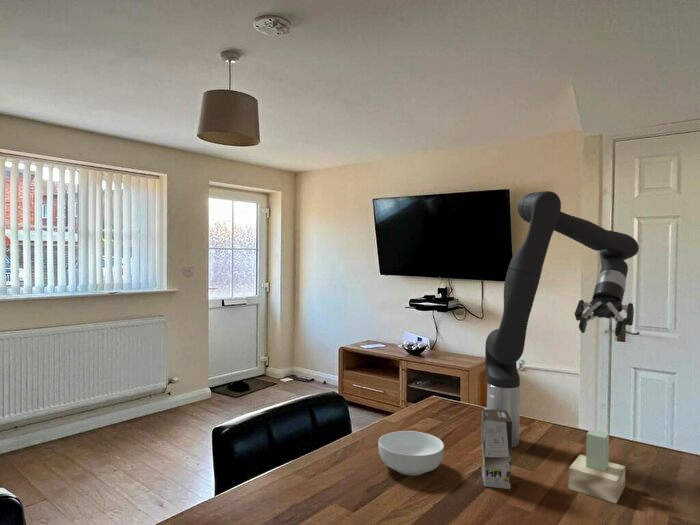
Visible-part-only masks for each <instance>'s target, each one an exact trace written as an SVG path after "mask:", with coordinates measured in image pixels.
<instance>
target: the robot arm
mask: <svg viewBox="0 0 700 525" xmlns="http://www.w3.org/2000/svg"><path fill="white" fill-rule="evenodd" d="M561 209H562V201H561V199H560V197H559V195H558V194H557V193H556V192H554V191H548V190H547V191H546V190H545V191H537V192H536V191H535V192H530V193H526V194H525V195H523V196H522V197H521V198H520V199H519V201H518V203H517V212H518V215H519V217H520V218H521V219H522V220H523V221H525V222H527V223H529V228H528V231H527V234H526V236H525V239H524V241H523V242H522V243H521V245H520V247H519V248H518V249H517V250H516V252H515V253H514V255H513V257H512V258H511V259H510V262H509V265H508V269H507V272H506V275H505V280H504V285H503V313H502V317H501V321H500V324H499V328H497V329H494V330H492V331H491V332H490V333H489V334H488V335H487V337H486V339H485V344H484V345H485V347H484V348H485V350H484V351H485V352H484V354H485V355H484V356H485V358H484V360H485V361H484V362H485V373H486V384H487V386H486V393H487V394H486V407H485V408H484V409H489V410H491V409H494V410H507V412H508V414H509V416H510V418H511V420H512V448H514V447H518V446H519V444H520V411H521V410H520V409H521V408H520V404H521V403H520V400H521V399H520V398H521V397H520V395H521V392H520V390H521V389H520V388H521V387H520V386H521V385H520V383H521V377H520V375H519V371H518V367H517V366H518V365H517V362H518V361H519V360H520V358H521V357H522V355H523V353H524V350H525V343H526V336H527V329H528V328H527V327H528V322H529V318H530V315H531V312H532V309H533V306H534V301H535V297H536V294H537V290H538V288H539V287H538V286H539V283H540V281H541V276H542V271H543V267H544V263H545V260H546V257H547V252H548V250H549V245H550V242H551V240H552V237H553V234H554V232H557V233H558V234H561V235H562V236H563V235H564V236H565V237H567V238H569V239H572V240H574V241H576V242H577V243H579V244H581V245H583V246H585V247H587V248H589V249H590V250H593V251H596V252H598V251H599V258H600V266H601V268H600V270H599V271H600V272H599V275H598V278H597V279H596V284H595V287H594V290H593V294H592V298H591V301H590V302H588V301H586V302H585V301H584V300H583V299H580V300H579V301H578V303H577V306H576V309H575V311H574V317H575V320H576V321H578V322H579V324H578V328H579V331H580V332H581V333H583V334H585V332H586V330H587V325H588V322H589V321H591V320H594V319H596V318H600V319H602V318H604V319H611V318H612V319H613V320H614V322H616V325H615V330H614V333H615V337H618V338H619V337H620V336H622V335H623V333H624V332H623V331H624V327H625V326H633V323H634V313H635V309H634V303H632V302H629V303H627V304H623V300H624V294H625V293H626V292H625V291H626V284H627V283H626V282H627V281H626V280H627V275H628V271H629V267H628V263H627V262H626V260H628V259H631V258H634V256H637V254H638V252H639V250H640V246H639V244H638V241H637V240H636V239H635V238H634V237H633V236H631V235H628V234H627V233H623V232H619V231H614V230H608V229H605V228H603V227H601V226H599V225H598V224H596V223H594V222H592V221H590V220H587V219H584V218H581V217H577V216H574V215H571V214H567V213H565V212H563V211H562V210H561ZM584 311H585V312H584ZM622 311H624V312H625V313H626V317H623V316H622V315H621V314H620V312H622Z"/></svg>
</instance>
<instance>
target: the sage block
mask: <svg viewBox="0 0 700 525" xmlns="http://www.w3.org/2000/svg"><path fill="white" fill-rule="evenodd" d="M585 442H586V447H585V448H586V449H585V450H586V452H585V456H586V467H587V468H591V469H595V470H598V471H602V472H605V471H606V470H607V468H608V467H609V462H610V460H609V459H610V457H609V454H610V452H609V451H610V433H609V432H606V431H601V430H597V429H592V428H591V429H589V430H588V432H587V433H586V441H585Z"/></svg>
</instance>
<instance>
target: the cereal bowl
mask: <svg viewBox="0 0 700 525" xmlns="http://www.w3.org/2000/svg"><path fill="white" fill-rule="evenodd" d="M377 441H378V444H377V445H378V446H377V448H378V453H379V456H380V458H381V461H383V463H384V464H385V465H386V466H387V467H389V468H390V469H392V470H395V471H396V472H398V473H399V474H401V475H405V476H412V477H415V476H422V475H423V474H426V473H429V472H432V471H433V470H435V469H436V468H438V467H439V466H440V464H441V463H442V462H443V458H444V455H445V444H444V441H442V440H441V439H440V438H439V437H437V436H434V435H433V434H429V433H426V432H421V431H416V430H399V431H398V430H397V431H392V432H388V433H386V434H383V435H382V436H380V437H379V439H378V440H377Z"/></svg>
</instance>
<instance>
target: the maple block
mask: <svg viewBox="0 0 700 525" xmlns="http://www.w3.org/2000/svg"><path fill="white" fill-rule="evenodd" d="M625 488H626V465H622V464H619V463H614V462H611V461H609V467H608V468H607V470H606V471H605V472H602V471H598V470H595V469H591V468H587V467H586V455H585V454H579V455H578V456H577V458H576V459H575V460H573V462H572V464H571V465H569V467H568V490H571V491H575V492H579V493H581V494H584V495H587V496H591V497H594V498H598V499H601V500H604V501H607V502H610V503H614V504H617V503H618V501H619V499H620V497H621V495H622V494H623V492H624V490H625Z"/></svg>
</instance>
